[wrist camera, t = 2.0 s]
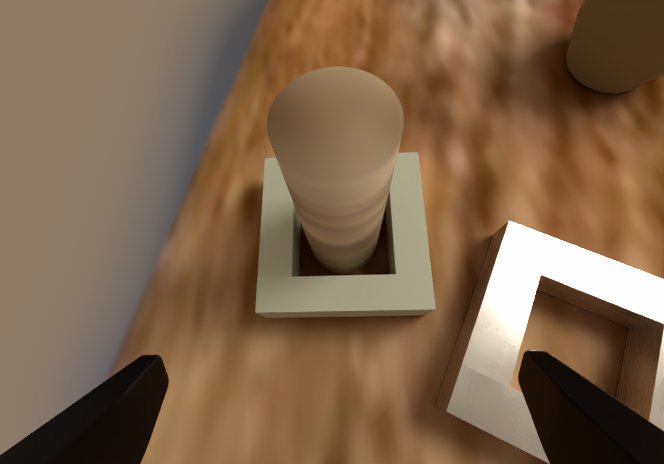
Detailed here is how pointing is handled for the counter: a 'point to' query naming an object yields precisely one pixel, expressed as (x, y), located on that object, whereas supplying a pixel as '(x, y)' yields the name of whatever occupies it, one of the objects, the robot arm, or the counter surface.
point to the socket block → (511, 319)
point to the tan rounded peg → (338, 159)
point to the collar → (348, 290)
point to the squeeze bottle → (617, 44)
